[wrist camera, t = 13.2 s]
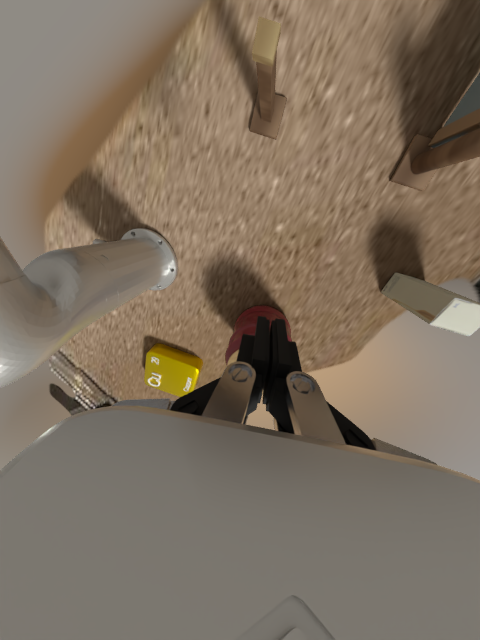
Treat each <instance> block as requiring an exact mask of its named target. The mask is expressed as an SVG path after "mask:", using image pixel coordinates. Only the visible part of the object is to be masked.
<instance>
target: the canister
mask: <svg viewBox="0 0 480 640" xmlns="http://www.w3.org/2000/svg"><path fill="white" fill-rule="evenodd" d="M258 316H263V317H266V319H268V320H270V327H271V322H272V320H275V319H276V318H277V319H284V320H285V324H286V330H287V337H288V341H292V340H291V329H290V325H289V322H288V320H287V319H286V317H285V316H284V315H283V314H282V313H281V312H280V311H279V310H277V309H275V308H273V307H270V306H265V305H259V306H254V307H251V308H248V309H247V310H245V311H244V312H243V313H242V314H241V315H240V316H239V317H238V319H237V321H236V323H235V326H234V332H233V335H232V336H231V338H230V341H229V346H228V348H227V350H226V354H225V361H226V365H227V366H228V365H229V364H231V363H233V362H236V361H237V356H238V352H239V348H240V344H241V339H242V335H243V334H247V335H254V336H255V330H256V324H257V318H258ZM262 394H263V392H262Z"/></svg>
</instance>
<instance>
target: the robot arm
mask: <svg viewBox="0 0 480 640" xmlns="http://www.w3.org/2000/svg"><path fill="white" fill-rule="evenodd" d="M177 270H178V265H177V259H176V256H175V253H174V251H173V249H172V248H171V246H170V245H169V243H168V242H167V241H166V240H165V239H164V238H163V237H162V236H161V235H159V234H158V233H156V232H154V231H152V230H149V229H144V228H138V229H132V230H130V231H128V232H126V233H125V234H124V235H123V237H122V238H121V240H118V241H111V242H106V241H103V240H100V239H95V240H94V241H93V244H91V245H85V246H78V247H71V248H64V249H58V250H53V251H49V252H47V253H44V254H42V255H40V256H39V257H37V258H36V259H34V260H33V261H32V262H30V264H28V265H27V266H26V267H25V268H24V270H23V271H22V269H21V268H20V266H19V265H18V263H17V262H16V260H15V259H14V257H13V256H12V254H11V253H10V251H9V250H8V248H7V246H6V245H5V243H4V242H3V240H2V239H1V237H0V388H1V387H3V386H6V385H8V384H11V383H13V382H15V381H16V380H19V379H20V378H22V377H24V376H26V375H27V374H29V373H30V372H32V371H33V370H35V369H36V368H38V367H39V366H40V365H42V364H43V363H44V362H45V361H47V360H48V359H49V358H50V357H51V356H52V355H54V354H55V353H56V352H57V351H58V350H59V349H60V348H61V347H62V346H63V345H64V344H65V343H67V342H68V341H69V340H70V339H71V338H72V337H74V336H75V335H76V334H77V333H79V332H80V331H81V330H83V329H84V328H86V327H87V326H89V325H90V324H92V323H93V322H95V321H96V320H98V319H100V318H101V317H103V316H104V315H106V314H108V313H110V312H111V311H113V310H115V309H116V308H118V307H120V306H121V305H123V304H125V303H126V302H128V301H130V300H132V299H133V298H135V297H137V296H138V295H140V294H142V293H143V292H145V291H147V290H148V289H149V290H162V289H164V288H167V287H168V286H170V285H171V284H172V283H173V281H174V280H175V278H176V275H177ZM262 392H263V404H266V411H269V412H270V413H271V415H272V416H273V417H274V429H275V430H270V429H265V428H260V427H255V426H250V425H246V422H247V419H248V415H249V414H250V413H252V412H253V411H254V410H256V408H257V403H260V400H261V396H262ZM0 640H480V480H477V479H475V478H473V477H470V476H468V475H466V474H463V473H460V472H457V471H454V470H451V469H448V468H445V467H442V466H439V465H437V464H436V463H434V462H432V461H430V460H428V459H426V458H424V457H421V456H418V455H416V454H413V453H411V452H408V451H406V450H403V449H401V448H399V447H396V446H393V445H391V444H388V443H386V442H383V441H381V440H378V439H375V438H373V439H372V440H371V439H370V438H369V437H368V436H367V435H366V434H365V433H364V432H363V431H362V430H361V429H359V428H358V427H357V426H356V425H355V424H353V423H352V422H351V421H350V420H348V419H347V418H346V417H345V416H344V415H342V414H341V413H340V412H339V411H338V410H336V409H335V408H334V407H333V406H332V405H330V404H329V403H328V402H327V401H326V400H325V398H324V396H323V393H322V391H321V389H320V387H319V385H318V384H317V382H316V380H315V379H314V378H313V377H312V376H310V375H308V374H306V373H304V372H302V370H301V365H300V360H299V355H298V351H297V346H296V342H292V341H288V337H287V330H286V324H285V320H284V319H277V318H276V319H275V320H272V322H271V327H270V320H268V319H266V317H263V316H258V318H257V324H256V330H255V336H254V335H247V334H243V335H242V339H241V344H240V348H239V352H238V356H237V361H236V362H233V363H231V364H229V365H228V366H227V367H226V369H225V371H224V373H223V375H222V377H221V378H219V379H217V380H214V381H212V382H210V383H208V384H206V385H204V386H202V387H200V388H198V389H196V390H194V391H192V392H190V393H188V394H186V395H184V396H182V397H180V398H179V399H177V400H176V401H170V399H140V400H124V401H120V402H118V403H116V404H114V405H112V406H110V407H103V408H97V409H92V410H88V411H84V412H81V413H78V414H75V415H73V416H71V417H68V418H66V419H64V420H63V421H61V422H60V423H58V424H56V425H54V426H53V427H52V428H50V429H49V430H48V431H46V432H45V433H44V434H42V435H41V436H40V437H39V438H37V439H36V440H35V441H34V442H32V443H31V444H30V445H29V446H28V447H27V448H25V449H24V450H23V451H22V452H21V453H20V454H18V455H17V456H16V457H15V458H14V459H13V460H12V461H10V462H9V463H8V464H7V465H6V466H5V467H4V468H3V469H2V470H0Z"/></svg>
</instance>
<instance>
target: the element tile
mask: <svg viewBox="0 0 480 640" xmlns="http://www.w3.org/2000/svg"><path fill="white" fill-rule="evenodd" d="M202 366H203V361H202V359H200V358H199V357H197V356H194V355H191V354H188V353H186V352H183V351H180V350H177V349H175V348H172V347H169V346H166V345H164V344H160V343H157V344H155V345H154V346H153V347H152V348H151V349H150V350H149V351H148V353H147V354H146V364H145V377H144V381H145V384H146V385H148V386H150V387H153V388H156V389H159V390H162V391H164V392H167V393H170V394H173V395H176V396H179V397H182V396H184V395H186V394H188V393H190V392H192V391H194V389H195V387H196V384H197V381H198V378H199V375H200V372H201V369H202Z"/></svg>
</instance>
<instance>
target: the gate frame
mask: <svg viewBox="0 0 480 640" xmlns="http://www.w3.org/2000/svg"><path fill="white" fill-rule="evenodd" d="M280 32H281V23H278V22H274V21H271V20H268V19H265V18H262V17H259V19H258V24H257V30H256V35H255V40H254V46H253V51H252V56H253V61H256V65H257V77H258V88H259V89H258V93H257V98H256V103H255V107H254V112H253V117H252V122H251V126H250V131H251V132H254V133H257V134H260V135H263V136H266V137H269V138H272V139H276V138H277V134H278V130H279V127H280V123H281V119H282V116H283V112H284V108H285V105H286V101H287V98H286V97H283V96H280V95H277V94H275V78H276V54H277V46H278V41H279V37H280ZM431 140H432V138H429V137H425V136H422V135H419V134H417V135H416V136H415V137H414V138H413V140H412V142H411V144H410V145H409V147H408V149H407V151H406V152H405V154H404V156H403V158H402V160H401V161H400V163H399V165H398V167H397V168H396V170H395V172H394V174H393V175H392V177H391V179H390V181H392V182H395V183H398V184H401V185H404V186H408V187H411V188H414V189H417V190H420V191H422V190H424V189H425V188H426V186H427V185H428V183H429V182H430V180H431V179H432V177H433V176H434V174H435V173H436V171H437V170H438V169H439V168H442V167H445V166H449V165H452V164H456V163H459V162H463V161H466V160H469V159H473V158H476V157H480V129H477V130H475V131H473V132H470V133H468V134H466V135H463V136H461V137H459V138H456V139H454V140H451V141H449V142H447V143H444V144H442V145H440V146H437V147H435V148H432V147H430V146H428V145H429V143H430V142H431Z"/></svg>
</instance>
